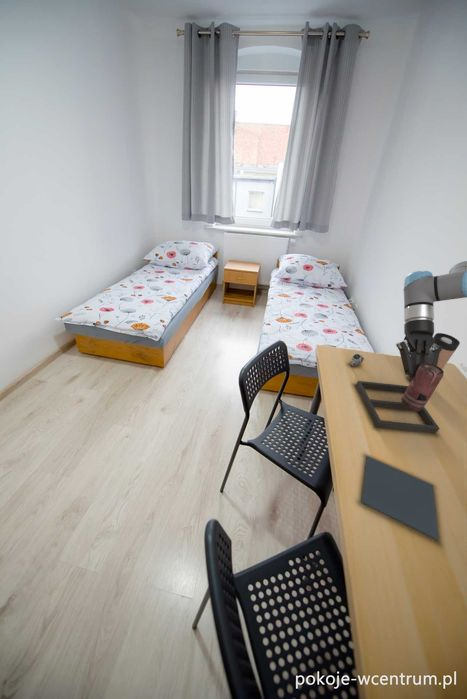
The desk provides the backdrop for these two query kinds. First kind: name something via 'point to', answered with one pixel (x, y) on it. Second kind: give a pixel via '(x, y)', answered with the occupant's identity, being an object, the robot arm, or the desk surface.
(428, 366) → the can
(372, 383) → the frame
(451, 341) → the travel mug
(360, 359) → the wristwatch
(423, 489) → the mat
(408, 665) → the desk surface
